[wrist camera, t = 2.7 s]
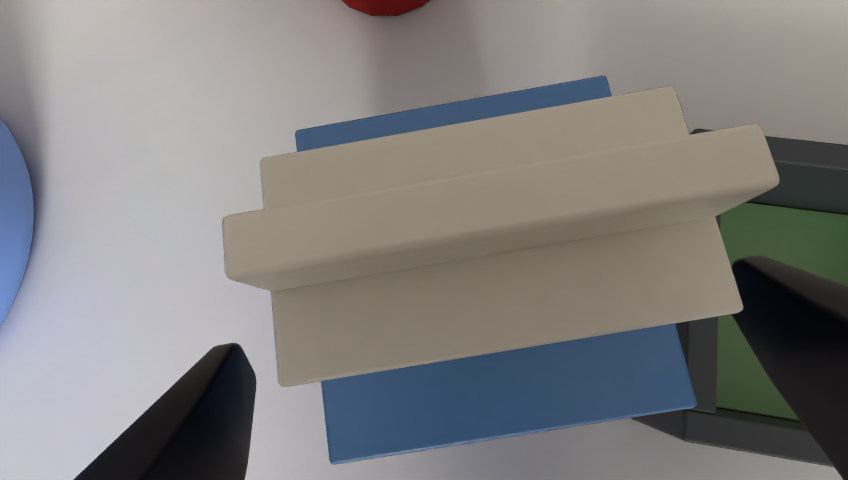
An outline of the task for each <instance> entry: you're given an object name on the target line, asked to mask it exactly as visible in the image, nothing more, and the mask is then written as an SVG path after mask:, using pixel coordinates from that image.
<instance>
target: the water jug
mask: <svg viewBox="0 0 848 480" xmlns="http://www.w3.org/2000/svg"><path fill="white" fill-rule="evenodd" d="M33 223H34V205H33V194H32V187H31V181H30V177H29V173H28V169H27V166H26V163H25V160H24V158H23V155H22V153H21V150H20V148H19V146H18V144H17V142H16V140H15V139H14V137H13V135H12V134H11V132H10V131H9V129H8V128H7V126H6V125H5V124H4V122H3V121H2V120H1V119H0V326H1V325H2V323H3V321H4V319H5V318H6V316H7V314H8V312H9V310H10V308H11V306H12V304H13V302H14V299H15V297H16V295H17V292H18V290H19V287H20V285H21V282H22V279H23V276H24V273H25V270H26V266H27V262H28V258H29V254H30V249H31V243H32V235H33Z"/></svg>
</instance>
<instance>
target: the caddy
mask: <svg viewBox="0 0 848 480" xmlns="http://www.w3.org/2000/svg"><path fill="white" fill-rule="evenodd" d="M709 131H714V130H705V129H695V130H694V131H692V132H691V133H690V134H689V135H692V134H698V133H703V132H709ZM765 138H766V141H767V144H768V147H769V150H770V152H771V155H772V158H773V161H774V164H775V166H776V169H777V172H778V175H779V184H778V185H777V186H775V187H774V188H772V189H770V190H768V191H766V192H764V193H762V194H760V195H758V196H756V197H754V198H752V199H750V200H748V201H746V202H744V203H742V204H740V205H738V206H736V207H734V208H732V209H730V210H728V211H726V212H723V213H721V214H719V215H717V216H715V218H716V221H717V224H718V227H719V231H720V234H721V237H722V240H723V243H724V247H725V250H726V253H727V256H728V259H729V262H730V266H732V264H733V263H734V261H735V260H737V259H740V258H745V257H751V256H765V257H768V258H770V259H773V260H776V261H779V262H782V263H785V264H787V265H790V266H793V267H796V268H799V269H802V270H805V271H807V272H810V273H813V274H816V275H819V276H822V277H825V278H827V279H830V280H833V281H836V282H839V283H842V284H844V285H847V286H848V145H842V144H833V143H824V142H815V141H805V140H796V139H787V138H778V137H769V136H765ZM675 325H676V328H677V332H678V335H679V339H680V343H681V346H682V350H683V353H684V357H685V361H686V364H687V368H688V371H689V375H690V378H691V382H692V386H693V389H694V393H695V396H696V400H697V406H696V407H694V408H689V409H683V410H676V411H670V412H664V413H657V414H651V415H645V416H638V417H632V418H631V419H633V420H636V421H638V422H640V423H643V424H645V425H648V426H650V427H652V428H655V429H657V430H659V431H662V432H664V433H667V434H669V435H671V436H674V437H676V438H678V439H681V440H683V441H685V442H691V443H697V444H703V445H709V446H714V447H720V448H726V449H732V450H738V451H744V452H749V453H755V454H761V455H767V456H773V457H779V458H784V459H790V460H796V461H802V462H808V463H813V464H819V465H825V466H831V467H834V466H833V465H832V463H831V462H830V460H829V459H828V458H827V456H826V455H825V454H824V452H823V451H822V450H821V448H820V447H819V446H818V444H817V443H816V442H815V440H814V439H813V438H812V436H811V435H810V434H809V432H808V431H807V429H806V428H805V427H804V425H803V424H802V423H801V421H800V420H799V419H798V417H797V416H796V415H795V413H794V412H793V411H792V409H791V408H790V407H789V405H788V404H787V402H786V401H785V400H784V398H783V397H782V396H781V394H780V393H779V392H778V390H777V389H776V387H775V386H774V384H773V383H772V382H771V380H770V378H769V377H768V375H767V374H766V372H765V371H764V369H763V367H762V366H761V364H760V362H759V361H758V359H757V357H756V356H755V354H754V352H753V351H752V349H751V347H750V345H749V344H748V342H747V340H746V339H745V337H744V335H743V334H742V332H741V330H740V329H739V327H738V325H737V323H736V322H735V320H734V318H733V317H732V315H731V314H729V315H723V316H716V317H710V318H704V319H698V320H692V321H686V322H680V323H675Z"/></svg>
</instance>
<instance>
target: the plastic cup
mask: <svg viewBox="0 0 848 480" xmlns="http://www.w3.org/2000/svg"><path fill="white" fill-rule="evenodd" d="M342 1H343V2H344V3H345V4H346V5H348V6H349V7H350V8H353V9H355V10H358V11H361V12H364V13H366V14H369V15H372V16H380V15H400V14H403V13H405V12H408V11H411V10H414V9H416V8H419V7H422V6H423V5H424V4H425V3H427V2H428V1H429V0H342Z"/></svg>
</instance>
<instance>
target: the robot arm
mask: <svg viewBox="0 0 848 480" xmlns="http://www.w3.org/2000/svg"><path fill="white" fill-rule="evenodd" d="M731 269H732V272H733V275H734V278H735V282H736V285H737V288H738V291H739V294H740V297H741V301H742V304H743V310H742V311H740V312H739V313H735V314H731V315H732V317H733V318H734V320H735V322H736V323H737V325H738V327H739V329H740V330H741V332H742V334H743V335H744V337H745V339H746V340H747V342H748V344H749V345H750V347H751V349H752V351H753V352H754V354H755V356H756V357H757V359H758V361H759V362H760V364H761V366H762V367H763V369H764V371H765V372H766V374H767V375H768V377H769V378H770V380H771V382H772V383H773V384H774V386H775V387H776V389H777V390H778V392H779V393H780V394H781V396H782V397H783V398H784V400H785V401H786V402H787V404H788V405H789V407H790V408H791V409H792V411H793V412H794V413H795V415H796V416H797V417H798V419H799V420H800V421H801V423H802V424H803V425H804V427H805V428H806V429H807V431H808V432H809V434H810V435H811V436H812V438H813V439H814V440H815V442H816V443H817V444H818V446H819V447H820V448H821V450H822V451H823V452H824V454H825V455H826V456H827V458H828V459H829V460H830V462H831V463H832V465H833V466H834V467H835V469H836V470H837V471H838V473H839V474H840V475H841V477H842V478H843V479H844V480H848V286H847V285H844V284H842V283H839V282H836V281H833V280H830V279H827V278H825V277H822V276H819V275H816V274H813V273H810V272H807V271H805V270H802V269H799V268H796V267H793V266H790V265H787V264H785V263H782V262H779V261H776V260H773V259H770V258H768V257H765V256H751V257H745V258H740V259H737V260H735V261H734V263H733V264H732V266H731ZM255 393H256V376H255V373H254V370H253V368H252V366H251V365H250V363H249V361H248V359H247V357H246V355H245V353H244V351H243V349H242V348H241V346H240V345H239V344H237V343H230V344H224V345H218V346H215V347H213V348H212V349H211V350H210V351H209V352H208V353H207V354H206V355H204V356H203V357H202V358H201V359H200V360H199V361H198V362H197V363H196V364H195V365H194V366H193V367H192V368H191V369H190V370H189V371H188V372H187V373H185V374H184V375H183V376H182V377H181V378H180V379H179V380H178V381H177V382H176V383H175V384H174V385H173V386H172V387H171V388H170V389H169V390H168V391H166V392H165V393H164V394H163V395H162V396H161V397H160V398H159V399H158V400H157V401H156V402H155V403H154V404H153V405H152V406H151V407H150V408H149V409H148V410H146V411H145V412H144V413H143V414H142V415H141V416H140V417H139V418H138V419H137V420H136V421H135V422H134V423H133V424H132V425H131V426H130V427H129V428H127V429H126V430H125V431H124V432H123V433H122V434H121V435H120V436H119V437H118V438H117V439H116V440H115V441H114V442H113V443H112V444H111V445H110V446H108V447H107V448H106V449H105V450H104V451H103V452H102V453H101V454H100V455H99V456H98V457H97V458H96V459H95V460H94V461H93V462H92V463H91V464H89V465H88V466H87V467H86V468H85V469H84V470H83V471H82V472H81V473H80V474H79V475H78V476H77V477H76V478H75V479H74V480H245V475H246V470H247V465H248V457H249V449H250V440H251V431H252V421H253V412H254V402H255Z"/></svg>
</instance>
